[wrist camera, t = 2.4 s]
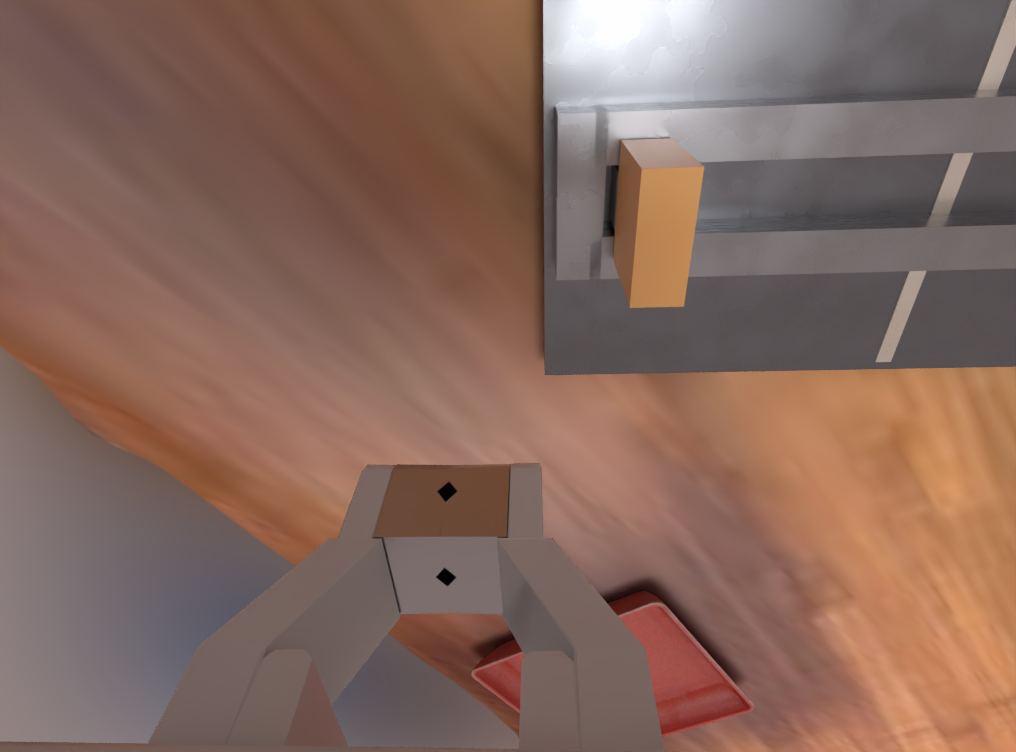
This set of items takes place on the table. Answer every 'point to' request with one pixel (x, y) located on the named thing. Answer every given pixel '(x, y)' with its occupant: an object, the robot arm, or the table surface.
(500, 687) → the plant saucer
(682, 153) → the block
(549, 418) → the table surface
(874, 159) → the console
